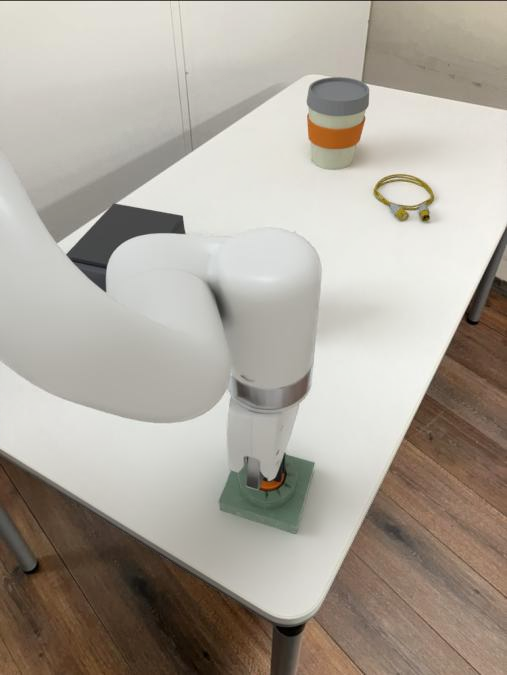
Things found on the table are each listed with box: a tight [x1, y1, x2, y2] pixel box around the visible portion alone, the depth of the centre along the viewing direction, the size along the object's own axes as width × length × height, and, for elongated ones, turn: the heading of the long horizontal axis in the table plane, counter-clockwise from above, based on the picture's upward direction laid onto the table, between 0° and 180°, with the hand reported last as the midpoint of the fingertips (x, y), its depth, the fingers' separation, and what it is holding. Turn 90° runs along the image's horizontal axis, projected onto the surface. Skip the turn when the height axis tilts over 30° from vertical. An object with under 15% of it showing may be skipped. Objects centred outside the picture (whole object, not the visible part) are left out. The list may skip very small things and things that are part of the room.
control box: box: [218, 454, 316, 535], centre depth 58 cm, size 9×8×4 cm
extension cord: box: [373, 173, 435, 222], centre depth 100 cm, size 12×16×2 cm
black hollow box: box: [65, 203, 186, 268], centre depth 82 cm, size 15×13×10 cm
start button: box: [259, 473, 284, 492], centre depth 57 cm, size 4×4×2 cm
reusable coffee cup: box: [306, 76, 370, 170], centre depth 107 cm, size 13×13×15 cm
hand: (269, 472), depth 57 cm, fingers closed
